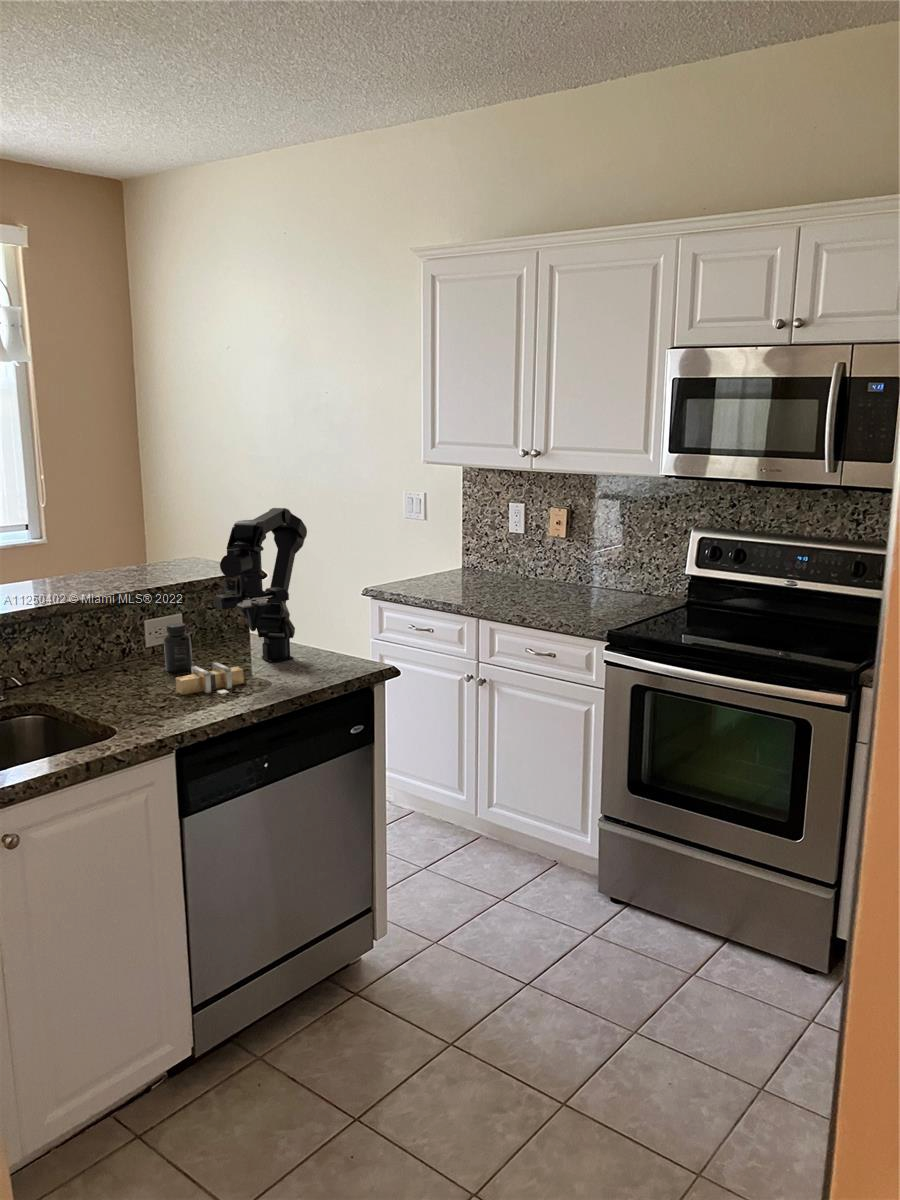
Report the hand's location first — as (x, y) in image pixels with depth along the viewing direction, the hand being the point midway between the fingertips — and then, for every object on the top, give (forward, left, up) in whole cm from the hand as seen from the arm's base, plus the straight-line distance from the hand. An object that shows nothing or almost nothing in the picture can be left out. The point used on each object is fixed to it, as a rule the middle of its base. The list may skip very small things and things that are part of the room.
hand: (252, 630), depth 246 cm
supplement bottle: (+14, -15, -11) cm, 23 cm away
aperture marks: (+14, +5, -11) cm, 19 cm away
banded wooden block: (+14, +5, -11) cm, 19 cm away
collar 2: (+11, +5, -11) cm, 17 cm away
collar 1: (+17, +5, -11) cm, 21 cm away
